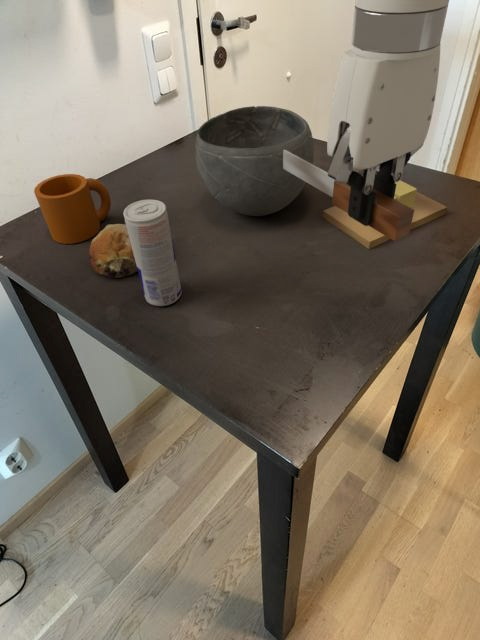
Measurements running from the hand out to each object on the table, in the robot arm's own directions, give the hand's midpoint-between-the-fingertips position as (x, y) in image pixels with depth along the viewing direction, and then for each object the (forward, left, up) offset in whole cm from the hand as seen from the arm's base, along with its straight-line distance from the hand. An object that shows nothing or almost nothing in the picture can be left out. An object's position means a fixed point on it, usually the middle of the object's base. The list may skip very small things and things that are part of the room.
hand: (368, 214), depth 53 cm
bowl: (-7, -34, -17) cm, 39 cm away
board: (-23, -17, -17) cm, 33 cm away
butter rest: (-25, -17, -15) cm, 34 cm away
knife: (0, -5, 0) cm, 6 cm away
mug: (+23, -46, -17) cm, 55 cm away
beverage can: (+19, -20, -17) cm, 33 cm away
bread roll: (+21, -32, -17) cm, 42 cm away
